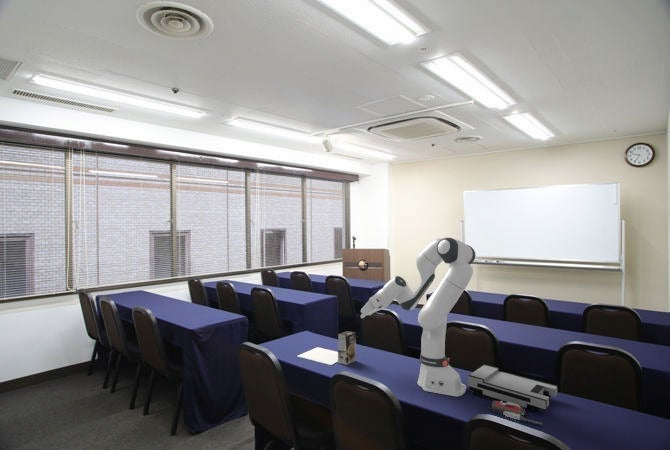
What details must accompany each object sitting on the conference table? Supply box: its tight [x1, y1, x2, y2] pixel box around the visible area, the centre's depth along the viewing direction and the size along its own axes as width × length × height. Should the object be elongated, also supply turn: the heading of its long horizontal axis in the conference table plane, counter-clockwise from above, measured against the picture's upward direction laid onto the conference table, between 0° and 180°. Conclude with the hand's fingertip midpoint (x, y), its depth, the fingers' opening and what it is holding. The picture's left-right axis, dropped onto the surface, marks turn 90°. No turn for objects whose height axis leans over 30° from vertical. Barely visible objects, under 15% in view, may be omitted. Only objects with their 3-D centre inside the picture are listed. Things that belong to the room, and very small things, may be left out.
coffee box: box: [337, 330, 357, 366], centre depth 208 cm, size 9×6×16 cm
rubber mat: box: [296, 346, 338, 366], centre depth 217 cm, size 24×20×1 cm
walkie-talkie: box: [488, 400, 544, 426], centre depth 150 cm, size 9×4×20 cm
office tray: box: [467, 364, 559, 413], centre depth 167 cm, size 21×32×8 cm, turn 47°
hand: (365, 315), depth 202 cm, fingers open, 7 cm apart
